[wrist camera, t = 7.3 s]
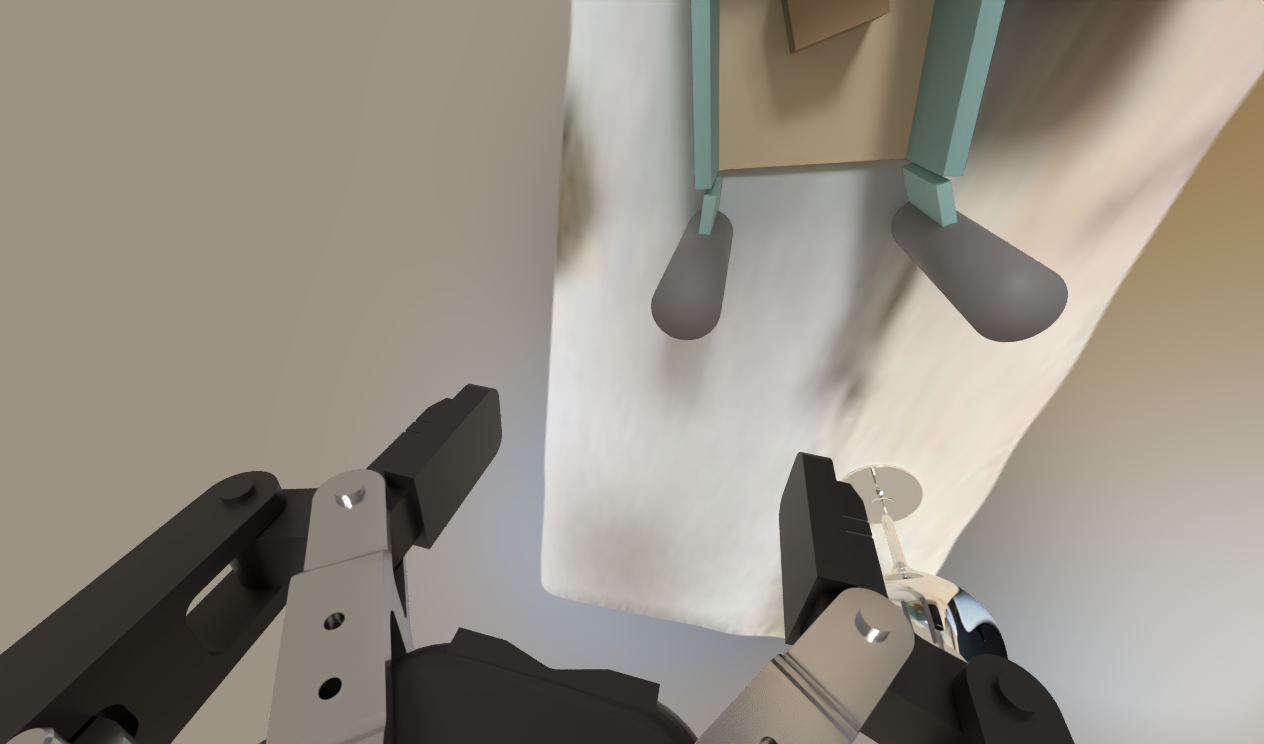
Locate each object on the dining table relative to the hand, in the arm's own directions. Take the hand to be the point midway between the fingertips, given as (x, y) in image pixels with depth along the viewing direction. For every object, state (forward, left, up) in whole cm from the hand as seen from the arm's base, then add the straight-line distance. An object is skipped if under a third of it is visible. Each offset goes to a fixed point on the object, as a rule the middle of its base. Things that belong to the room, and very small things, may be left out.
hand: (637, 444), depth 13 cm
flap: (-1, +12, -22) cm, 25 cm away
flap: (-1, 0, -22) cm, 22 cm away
